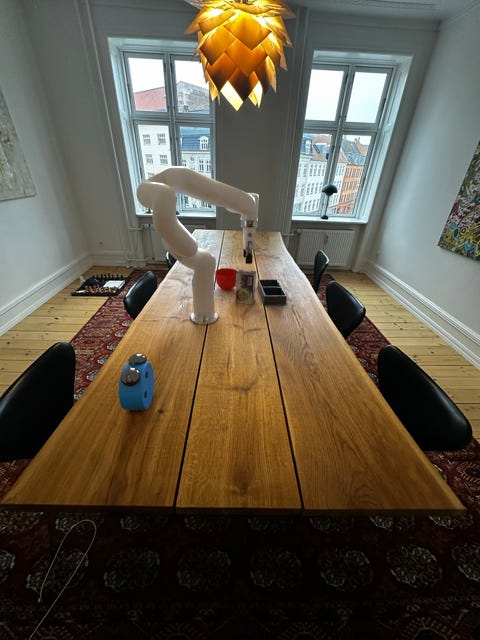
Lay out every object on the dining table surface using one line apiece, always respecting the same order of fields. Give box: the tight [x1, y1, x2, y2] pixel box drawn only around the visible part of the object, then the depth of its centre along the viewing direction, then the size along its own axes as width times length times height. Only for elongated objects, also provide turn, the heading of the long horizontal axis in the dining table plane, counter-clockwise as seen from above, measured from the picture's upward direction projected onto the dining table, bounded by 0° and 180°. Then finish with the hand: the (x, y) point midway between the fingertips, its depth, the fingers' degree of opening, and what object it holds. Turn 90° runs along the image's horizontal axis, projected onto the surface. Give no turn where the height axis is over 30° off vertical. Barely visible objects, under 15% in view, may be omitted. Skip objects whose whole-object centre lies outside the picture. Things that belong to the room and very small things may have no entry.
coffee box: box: [235, 269, 257, 305], centre depth 132 cm, size 9×6×16 cm
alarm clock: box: [118, 352, 155, 413], centre depth 72 cm, size 13×6×15 cm, turn 4°
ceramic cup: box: [214, 267, 239, 291], centre depth 145 cm, size 13×17×10 cm
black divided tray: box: [256, 278, 288, 306], centre depth 141 cm, size 23×12×5 cm, turn 5°
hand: (247, 260), depth 125 cm, fingers open, 9 cm apart
